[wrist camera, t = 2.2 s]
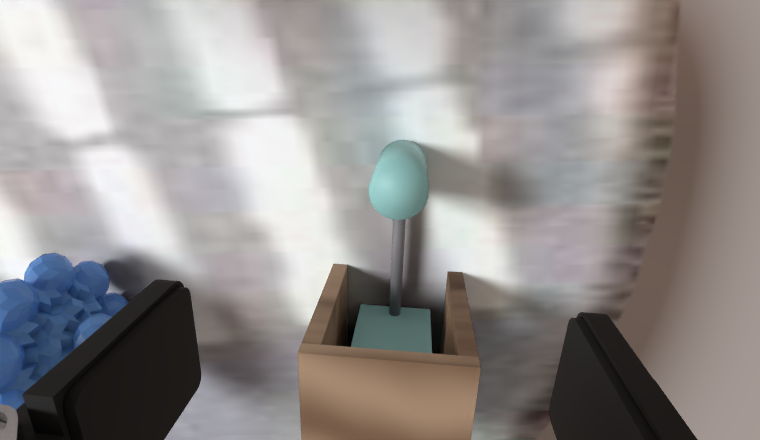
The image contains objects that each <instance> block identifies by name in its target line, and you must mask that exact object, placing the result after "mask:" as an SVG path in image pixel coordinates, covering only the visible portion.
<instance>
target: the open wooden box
mask: <svg viewBox="0 0 760 440" xmlns="http://www.w3.org/2000/svg"><path fill="white" fill-rule="evenodd" d="M347 284H348V265H342V264H333V267H332V269H331V272H330V274H329V276H328V279H327V281H326V284H325V286H324V289H323V291H322V294H321V296H320V299H319V301H318V304H317V306H316V309H315V311H314V314H313V316H312V319H311V321H310V324H309V326H308V329H307V331H306V334H305V336H304V339H303V341H302V344H301V346H300V349H299V351H298V372H299V394H300V417H301V439H302V440H471V434H472V427H473V420H474V413H475V406H476V399H477V392H478V385H479V378H480V371H481V366H480V361H479V355H478V350H477V345H476V340H475V335H474V330H473V325H472V320H471V315H470V309H469V304H468V299H467V294H466V289H465V284H464V279H463V274H462V272H448V274H447V284H446V294H445V304H444V315H443V325H442V335H441V345H440V354H433V353H420V352H408V351H395V350H382V349H370V348H357V347H347Z"/></svg>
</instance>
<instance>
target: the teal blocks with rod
mask: <svg viewBox="0 0 760 440" xmlns="http://www.w3.org/2000/svg"><path fill="white" fill-rule="evenodd" d="M369 197H370V201H371V203H372V205H373V207H374V208H375V209H376V210H377V211H378V212H379V213H380V214H381V215H383V216H385V217H387V218H389V219H393V235H392V257H391V279H390V301H389V306H378V305H365V304H361V305H360V309H359V314H358V318H357V322H356V327H355V331H354V335H353V340H352V344H351V347H357V348H370V349H382V350H395V351H408V352H420V353H432V340H431V317H430V309H420V308H406V307H401V293H402V276H403V258H404V240H405V222H406V219H408V218H411V217H413V216H415V215H416V214H418V213H419V212H420V211H421V210H422V209H423V207H424V206H425V204H426V202H427V198H428V179H427V164H426V157H425V154H424V152H423V151H422V149H421V148H420V147H419V146H418V145H416V144H415V143H413V142H411V141H407V140H399V141H395V142H392V143H390V144H389V145H387V146H386V147H385V148H384V150H383V151H382V153H381V155H380V158H379V160H378V163H377V166H376V168H375V171H374V174H373V177H372V179H371V182H370V185H369Z"/></svg>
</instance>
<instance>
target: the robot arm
mask: <svg viewBox="0 0 760 440" xmlns="http://www.w3.org/2000/svg"><path fill="white" fill-rule="evenodd" d="M200 381H201V368H200V361H199V354H198V346H197V339H196V332H195V325H194V317H193V310H192V303H191V296H190V291H189V289H188V288H185V287H184V285H183V284H182V283H181V282H180V281H169V280H155V281H154V282H152V283H151V284H150V285H149V286H148V287H147V288H145V289H144V290H143V291H142V292H141V293H140V294H138V295H137V296H136V297H135V298H134V299H133V300H131V301H130V302H129V303H128V304H127V305H126V306H124V307H123V308H122V309H121V310H120V311H119V312H117V313H116V314H115V315H114V316H113V317H112V318H110V319H109V320H108V321H107V322H106V323H105V324H103V325H102V326H101V327H100V328H99V329H98V330H96V331H95V332H94V333H93V334H92V335H91V336H89V337H88V338H87V339H86V340H85V341H84V342H82V343H81V344H80V345H79V346H78V347H77V348H75V349H74V350H73V351H72V352H71V353H70V354H68V355H67V356H66V357H65V358H64V359H63V360H61V361H60V362H59V363H58V364H57V365H56V366H54V367H53V368H52V369H51V370H50V371H49V372H47V373H46V374H45V375H44V376H43V377H42V378H40V379H39V380H38V381H37V382H36V383H35V384H33V385H32V386H31V387H30V388H29V389H28V390H26V391H25V392H24V393H23V394H22V395H23V398H24V401H25V402H24V403H23V404H22V405H21V406H20V407H19V408H18V409H16V410H15V409H14V408H12V407H11V406H7V405H2V404H0V440H164V439H165V437H166V436H167V434H168V433H169V431H170V430H171V428H172V427H173V425H174V424H175V422H176V421H177V419H178V418H179V416H180V415H181V413H182V412H183V410H184V409H185V407H186V406H187V404H188V403H189V401H190V400H191V398H192V397H193V395H194V394H195V392H196V391H197V389H198V387H199V384H200ZM549 413H550V420H551V424H552V426H553V430H554V432H555V435H556V438H557V440H697V439H696V437H695V436H694V434H693V433H692V432H691V430H690V429H689V427H688V426H687V425H686V423H685V422H684V420H683V419H682V418H681V416H680V415H679V413H678V412H677V410H676V409H675V408H674V406H673V405H672V403H671V402H670V401H669V399H668V398H667V396H666V395H665V394H664V392H663V391H662V390H661V388H660V387H659V385H658V384H657V383H656V381H655V380H654V379H653V378H652V377H651V375H650V374H649V373H648V371H647V370H646V368H645V367H644V366H643V364H642V363H641V361H640V360H639V358H638V357H637V356H636V354H635V353H634V351H633V350H632V349H631V347H630V346H629V344H628V343H627V341H626V340H625V339H624V337H623V336H622V334H621V333H620V332H619V330H618V329H617V328H616V326H615V325H614V323H613V322H612V320H611V319H610V318H609V317H608V316H607V315H606V314H597V313H584V312H581V313H579V314H578V316H577V318H571V319H570V320H569V323H568V327H567V332H566V336H565V341H564V345H563V349H562V354H561V358H560V363H559V367H558V372H557V376H556V380H555V385H554V389H553V394H552V398H551V402H550V410H549Z"/></svg>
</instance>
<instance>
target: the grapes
mask: <svg viewBox="0 0 760 440" xmlns="http://www.w3.org/2000/svg"><path fill="white" fill-rule="evenodd" d="M109 281H110V279H109V276H108V273H107V270H106V269H105V268H104V267H103V266H102V265H101V264H99V263H97V262H94V261H85V262H81V263H79V264H78V265H77V266H75V267H74V268H73V266H72V263H71V262H70V261H69V260H68V259H67V258H66V257H65V256H62V255H60V254H57V253H49V254H43V255H41V256H40V257H38V258H37V259H35V260H34V261H33V262H31V263H30V265H29V267H28V268H27V270H26V272H25V277H24V281H23V280H20V279H12V280H5V281H3V282H1V283H0V404H2V405H7V406H11V407H12V408H14V409H15V410H16V409H18V408H19V407H20V406H21V405H22V404H23V403H24V402H25V401H24V398H23V395H22V394H23V393H24V392H25V391H26V390H28V389H29V388H30V387H31V386H32V385H33V384H35V383H36V382H37V381H38V380H39V379H40V378H42V377H43V376H44V375H45V374H46V373H47V372H49V371H50V370H51V369H52V368H53V367H54V366H56V365H57V364H58V363H59V362H60V361H61V360H63V359H64V358H65V357H66V356H67V355H68V354H70V353H71V352H72V351H73V350H74V349H75V348H77V347H78V346H79V345H80V344H81V343H82V342H84V341H85V340H86V339H87V338H88V337H89V336H91V335H92V334H93V333H94V332H95V331H96V330H98V329H99V328H100V327H101V326H102V325H103V324H105V323H106V322H107V321H108V320H109V319H110V318H112V317H113V316H114V315H115V314H116V313H117V312H119V311H120V310H121V309H122V308H123V307H124V306H126V305H127V304H128V303H129V302H128V301H127V299H126V298H125V297H124V296H123V295H120V294H117V293H115V292H114V293H109V294H106V292H107V290H108V288H109Z"/></svg>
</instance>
